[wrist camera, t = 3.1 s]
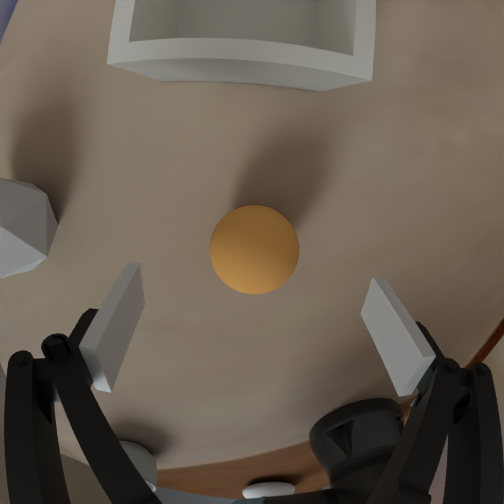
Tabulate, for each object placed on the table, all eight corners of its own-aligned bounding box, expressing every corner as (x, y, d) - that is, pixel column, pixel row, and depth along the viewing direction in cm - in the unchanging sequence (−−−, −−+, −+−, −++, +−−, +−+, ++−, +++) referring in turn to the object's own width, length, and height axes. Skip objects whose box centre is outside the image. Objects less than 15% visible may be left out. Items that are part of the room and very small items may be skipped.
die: (-1, 195, 23) (-30, 280, 19) (-4, 143, 17) (-51, 244, 12) (62, 216, 27) (40, 302, 23) (74, 168, 21) (39, 276, 17)
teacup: (96, 428, 40) (85, 465, 33) (155, 439, 40) (148, 480, 33) (117, 460, 46) (110, 491, 39) (168, 469, 46) (163, 502, 39)
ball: (296, 198, 24) (314, 227, 18) (286, 269, 27) (298, 314, 21) (215, 192, 24) (206, 220, 18) (212, 264, 26) (205, 309, 21)
